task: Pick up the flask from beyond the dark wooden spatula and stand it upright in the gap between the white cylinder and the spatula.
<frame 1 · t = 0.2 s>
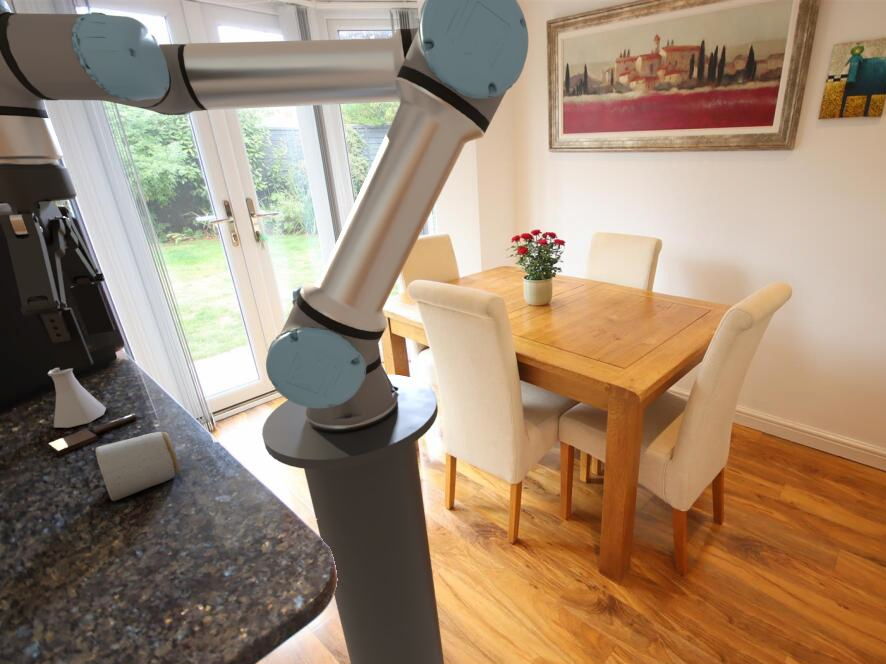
hand: (90, 348, 57), 22 cm above the kitchen counter, tool pointing down, fingers open, 13 cm apart
spatula: (99, 433, 80), on the kitchen counter
white cylinder: (144, 482, 67), on the kitchen counter
flask: (81, 419, 85), on the kitchen counter
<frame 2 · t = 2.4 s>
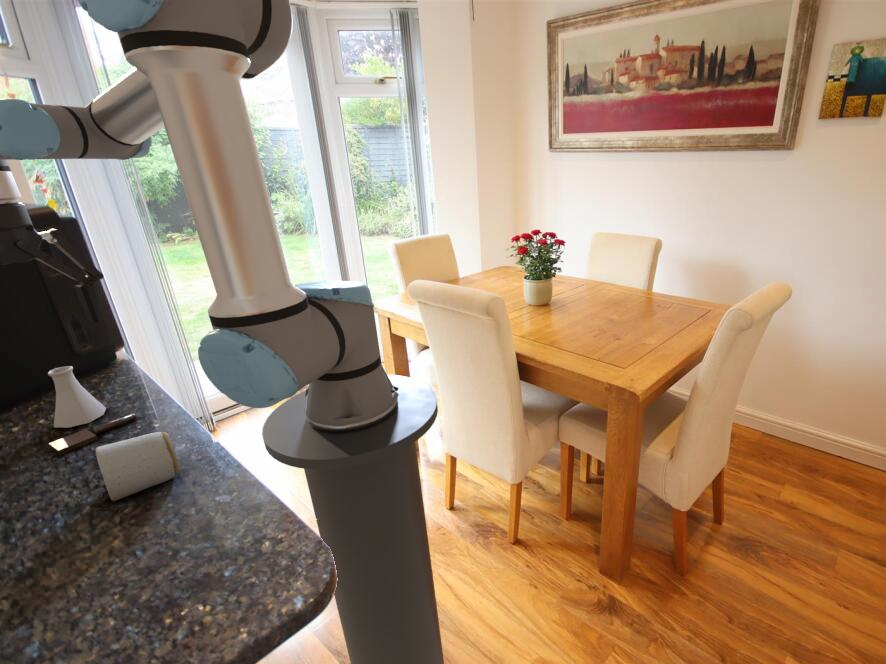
hand: (44, 333, 78), 17 cm above the kitchen counter, tool pointing down, fingers open, 13 cm apart
nothing on the kitchen counter moved.
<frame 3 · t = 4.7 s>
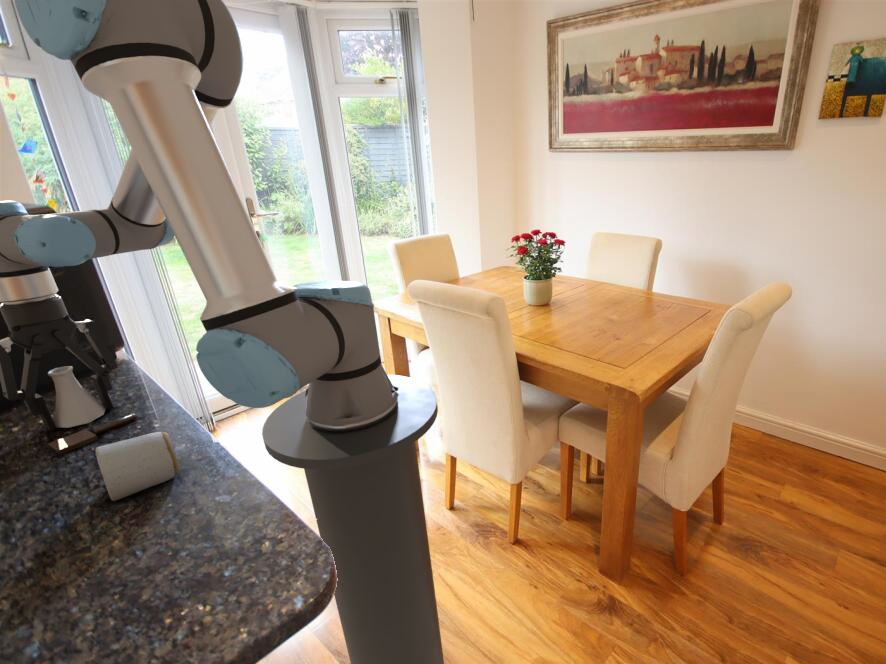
hand: (80, 417, 85), 0 cm above the kitchen counter, tool pointing down, fingers closed on flask, 8 cm apart
flask: (81, 419, 85), on the kitchen counter, touching gripper
everything else where it was.
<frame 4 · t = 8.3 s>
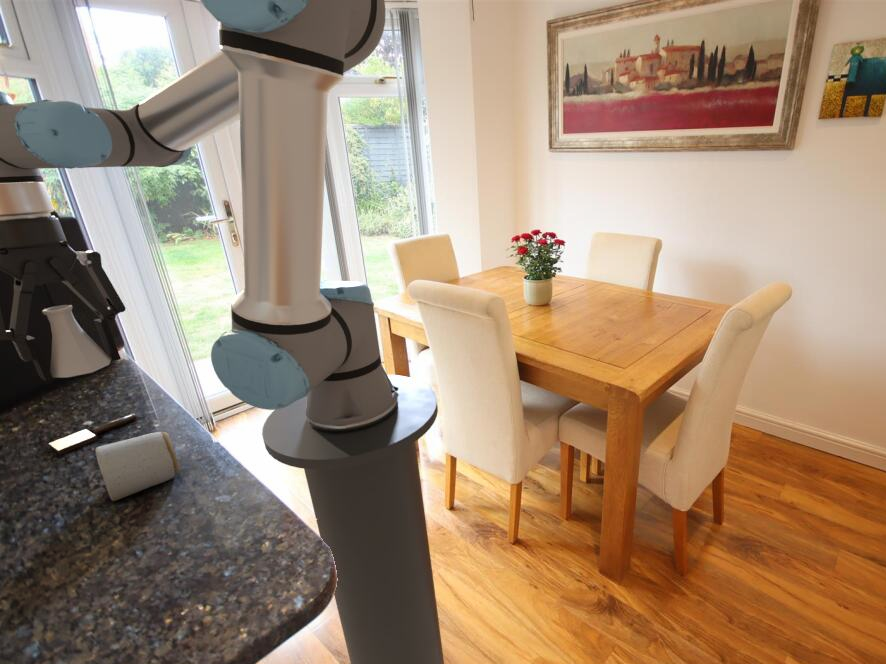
hand: (82, 367, 71), 14 cm above the kitchen counter, tool pointing down, fingers closed on flask, 8 cm apart
flask: (83, 370, 71), point 14 cm above the kitchen counter, touching gripper
everything else where it was.
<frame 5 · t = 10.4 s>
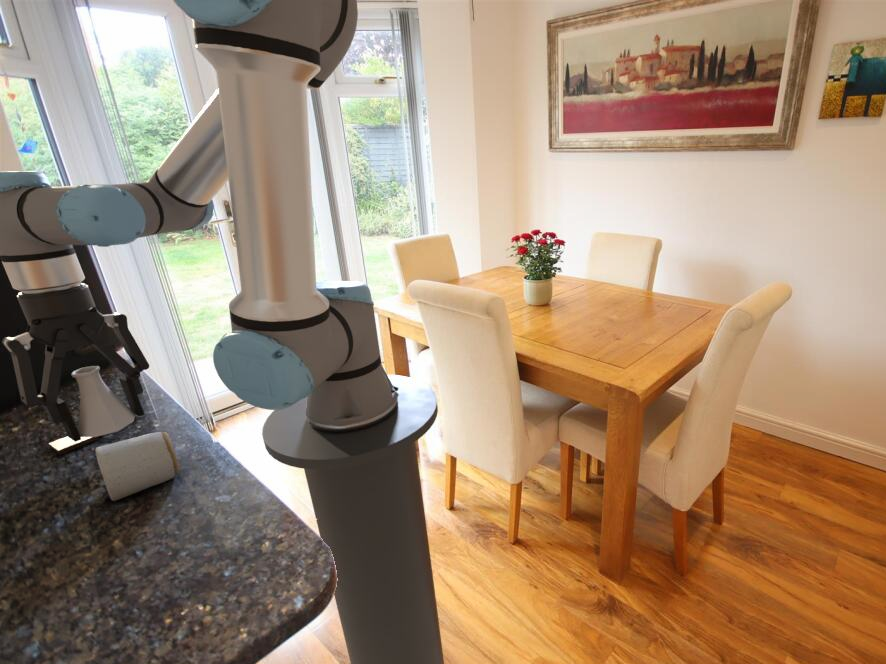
hand: (107, 425, 74), 4 cm above the kitchen counter, tool pointing down, fingers closed on flask, 8 cm apart
flask: (108, 427, 74), point 4 cm above the kitchen counter, touching gripper
everything else where it was.
when the fingers open (0 cm above the kitchen counter, at t = 12.0 s): flask stays where it is, on the kitchen counter.
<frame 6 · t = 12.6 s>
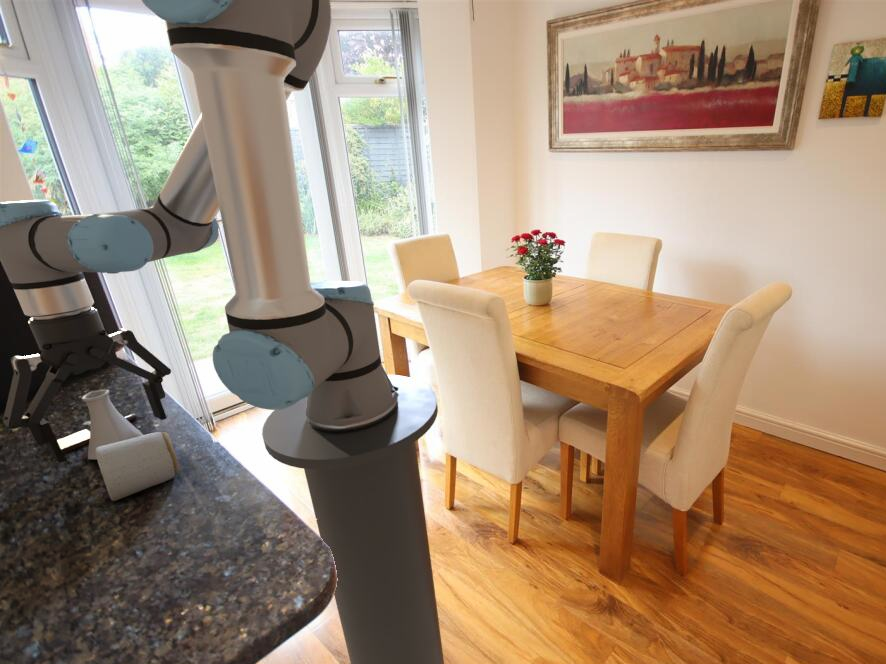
hand: (113, 436, 74), 2 cm above the kitchen counter, tool pointing down, fingers open, 13 cm apart
flask: (118, 449, 75), on the kitchen counter
everything else where it was.
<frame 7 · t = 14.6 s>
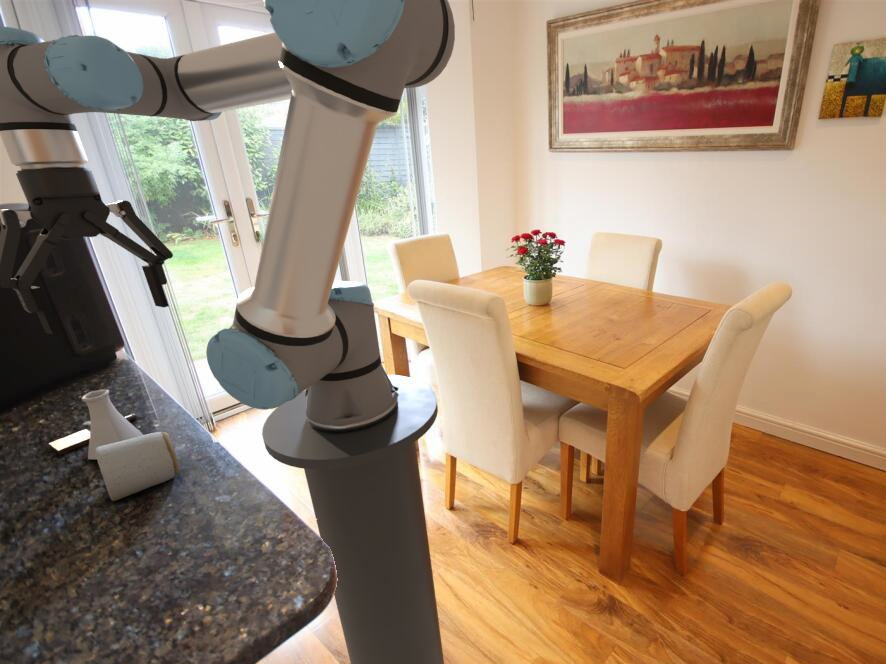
hand: (112, 318, 69), 22 cm above the kitchen counter, tool pointing down, fingers open, 13 cm apart
nothing on the kitchen counter moved.
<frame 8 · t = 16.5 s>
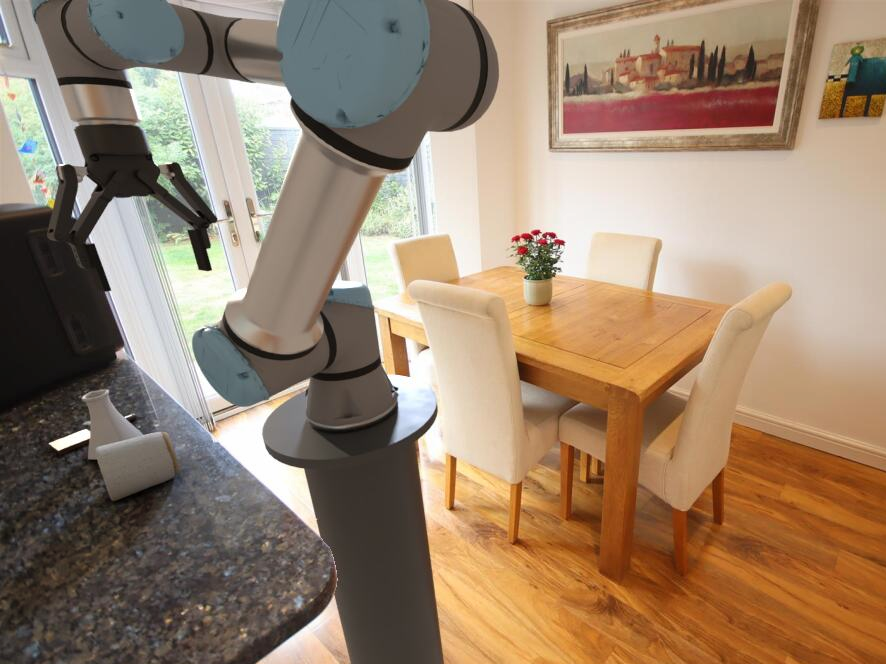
hand: (158, 279, 70), 27 cm above the kitchen counter, tool pointing down, fingers open, 13 cm apart
nothing on the kitchen counter moved.
at the end: flask inside the target area (0.1 cm from its centre), on the kitchen counter; flask tilted 0°; white cylinder moved 0.2 cm from its start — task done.
